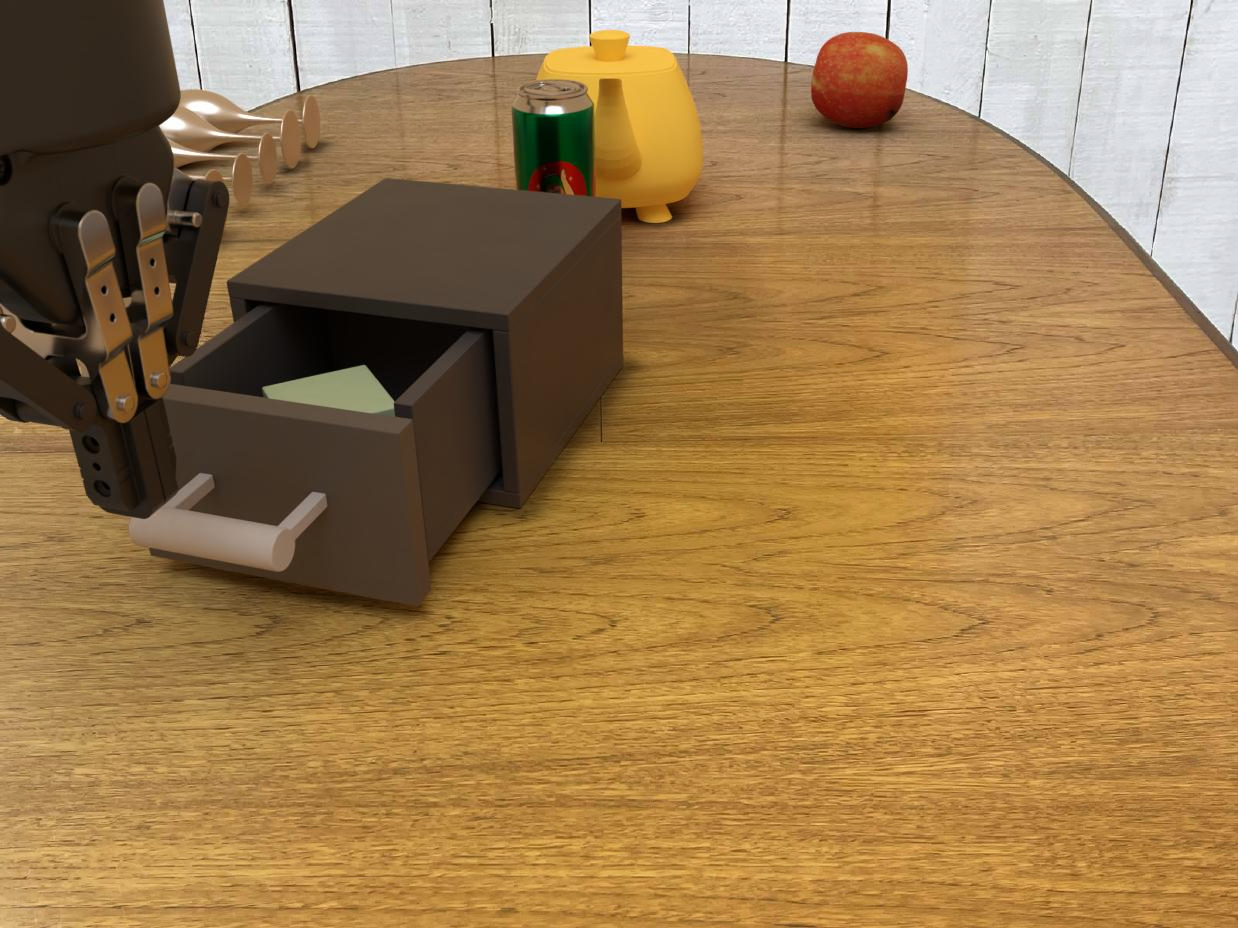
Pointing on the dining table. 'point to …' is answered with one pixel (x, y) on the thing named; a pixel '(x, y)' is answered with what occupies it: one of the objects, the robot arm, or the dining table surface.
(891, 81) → the apple
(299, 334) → the drawer
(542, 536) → the dining table surface
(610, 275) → the cabinet
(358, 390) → the block
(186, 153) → the goblet set
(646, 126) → the teapot
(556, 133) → the soda can
